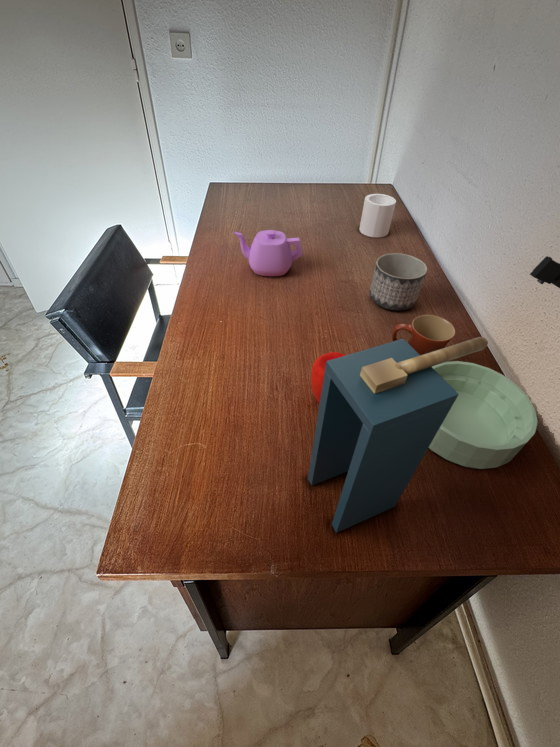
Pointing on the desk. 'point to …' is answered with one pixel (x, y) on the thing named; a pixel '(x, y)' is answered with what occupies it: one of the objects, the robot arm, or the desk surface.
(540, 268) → the robot arm
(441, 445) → the bowl
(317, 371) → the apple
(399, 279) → the planter
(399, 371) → the wooden mallet
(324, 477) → the teal arch block
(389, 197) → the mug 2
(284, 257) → the teapot
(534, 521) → the desk surface
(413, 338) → the mug
